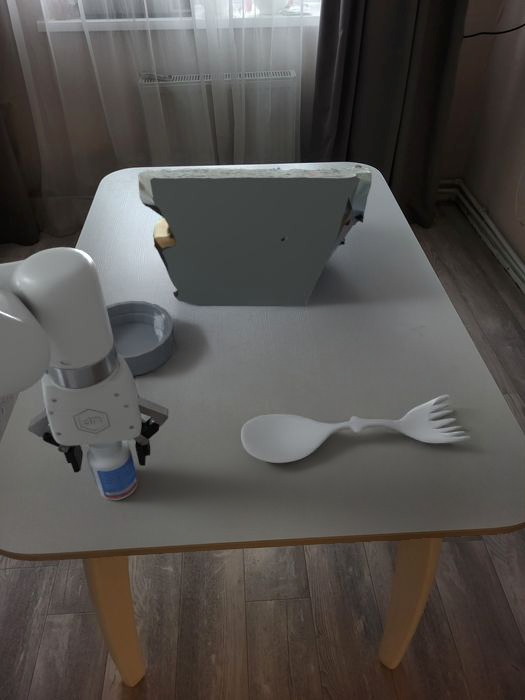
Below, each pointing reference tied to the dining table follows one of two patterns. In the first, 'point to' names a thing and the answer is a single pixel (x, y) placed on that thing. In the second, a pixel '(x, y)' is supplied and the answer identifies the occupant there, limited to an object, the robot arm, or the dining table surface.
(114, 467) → the pill bottle
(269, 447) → the spoon
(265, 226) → the basket
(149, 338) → the pan
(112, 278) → the dining table surface
